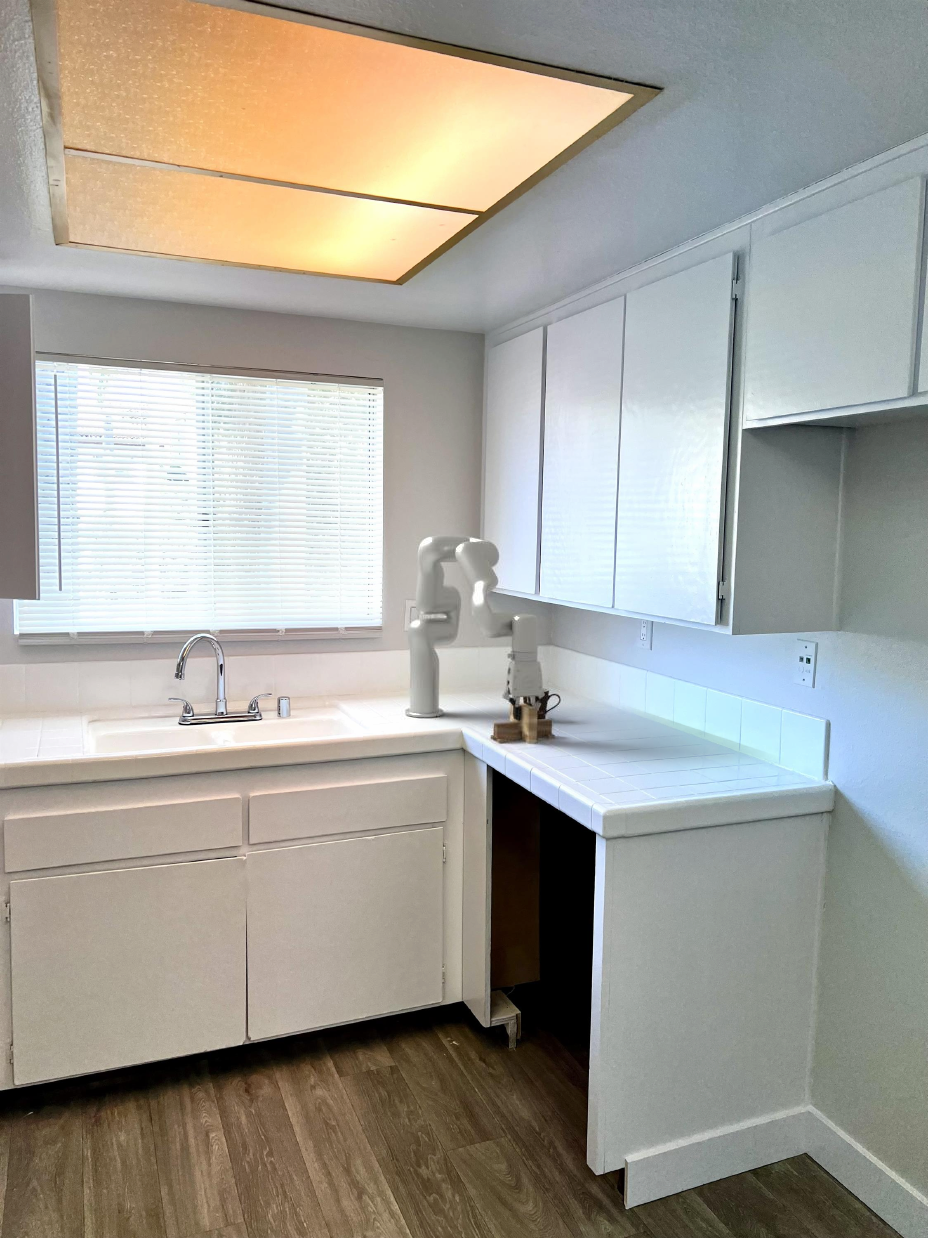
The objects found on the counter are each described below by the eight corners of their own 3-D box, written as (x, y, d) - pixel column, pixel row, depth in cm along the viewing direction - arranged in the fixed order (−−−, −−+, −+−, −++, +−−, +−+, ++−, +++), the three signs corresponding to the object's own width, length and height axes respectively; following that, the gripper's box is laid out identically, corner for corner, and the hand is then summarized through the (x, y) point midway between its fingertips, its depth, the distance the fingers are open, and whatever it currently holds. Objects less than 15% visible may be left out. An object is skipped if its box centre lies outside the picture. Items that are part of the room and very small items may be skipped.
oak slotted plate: (509, 734, 270) (510, 701, 269) (517, 734, 271) (518, 701, 270) (528, 743, 260) (529, 709, 259) (536, 743, 261) (537, 708, 260)
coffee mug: (517, 721, 289) (517, 690, 288) (528, 716, 296) (528, 686, 295) (551, 725, 283) (551, 694, 282) (561, 720, 291) (562, 689, 290)
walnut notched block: (490, 738, 265) (490, 721, 264) (545, 734, 272) (545, 717, 271) (499, 743, 259) (499, 726, 259) (554, 738, 266) (555, 721, 266)
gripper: (504, 660, 256) (503, 724, 258) (555, 657, 263) (554, 720, 265) (493, 656, 263) (492, 718, 265) (543, 654, 270) (541, 714, 272)
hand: (523, 718), depth 265 cm, fingers open, 3 cm apart
